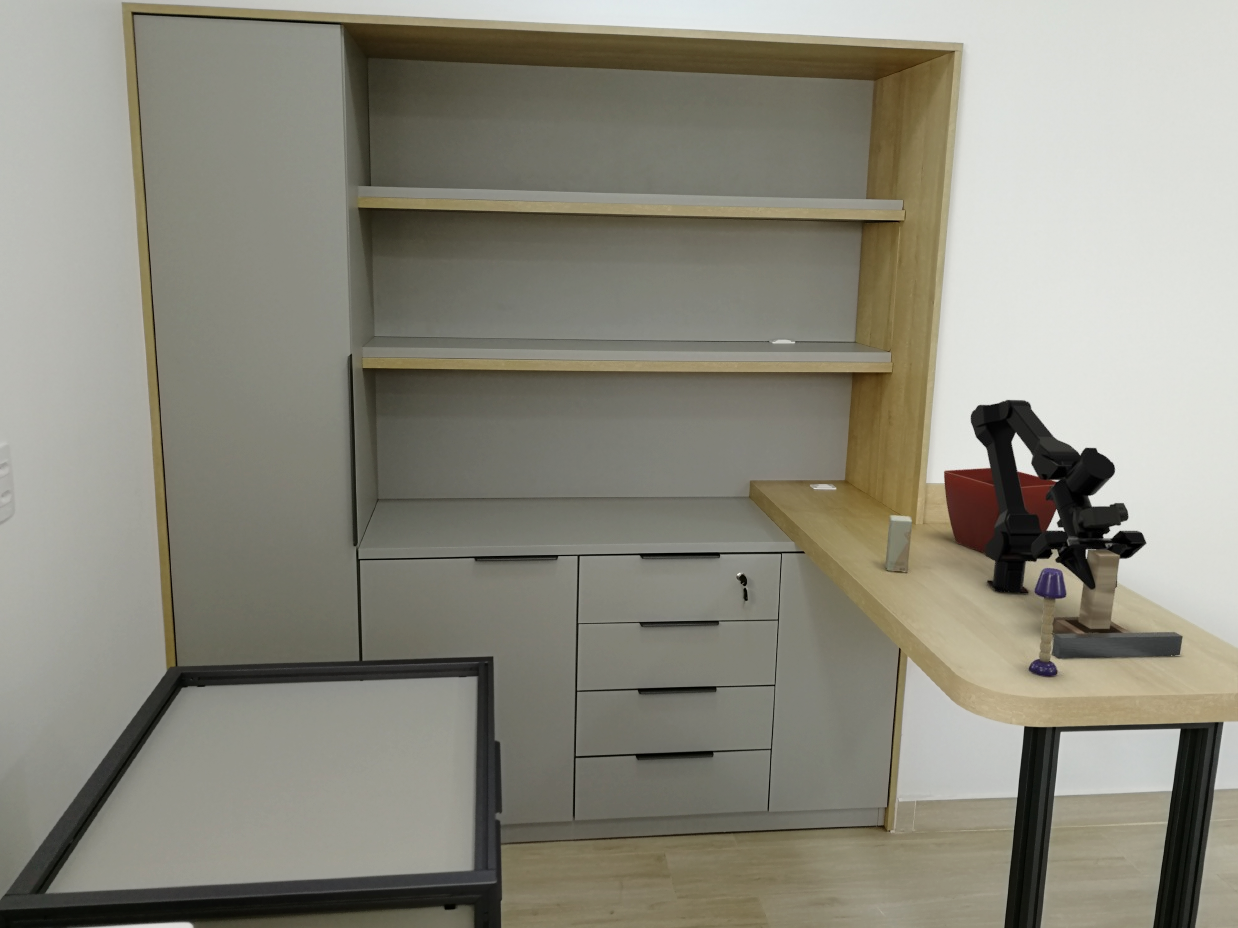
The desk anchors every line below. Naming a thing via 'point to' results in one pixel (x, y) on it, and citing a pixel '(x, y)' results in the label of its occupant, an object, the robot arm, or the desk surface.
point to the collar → (1081, 627)
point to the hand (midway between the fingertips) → (1103, 588)
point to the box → (898, 543)
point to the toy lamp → (1048, 618)
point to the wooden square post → (1099, 590)
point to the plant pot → (989, 504)
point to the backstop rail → (1116, 645)
